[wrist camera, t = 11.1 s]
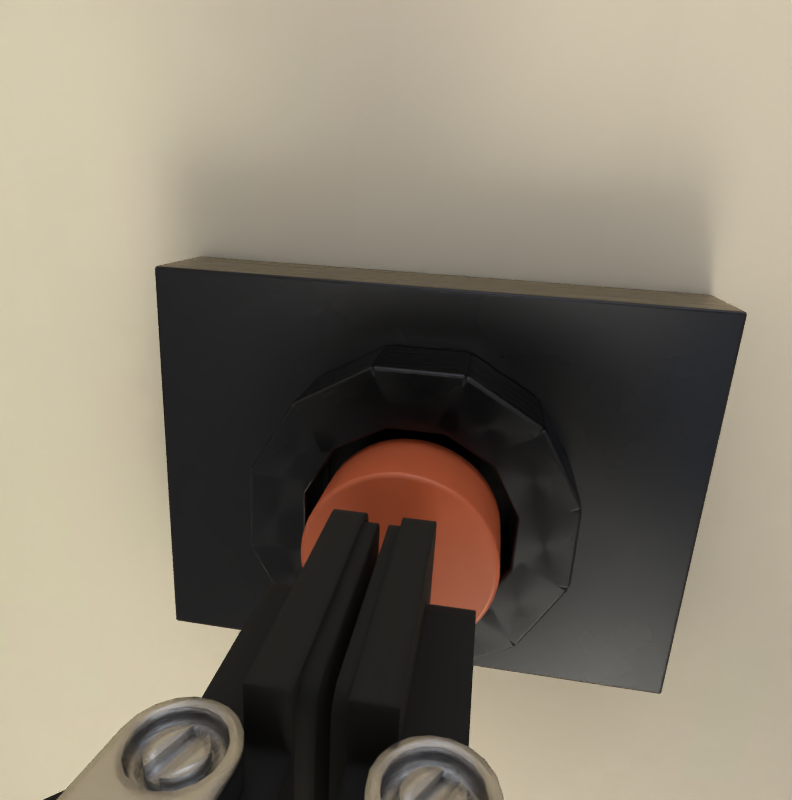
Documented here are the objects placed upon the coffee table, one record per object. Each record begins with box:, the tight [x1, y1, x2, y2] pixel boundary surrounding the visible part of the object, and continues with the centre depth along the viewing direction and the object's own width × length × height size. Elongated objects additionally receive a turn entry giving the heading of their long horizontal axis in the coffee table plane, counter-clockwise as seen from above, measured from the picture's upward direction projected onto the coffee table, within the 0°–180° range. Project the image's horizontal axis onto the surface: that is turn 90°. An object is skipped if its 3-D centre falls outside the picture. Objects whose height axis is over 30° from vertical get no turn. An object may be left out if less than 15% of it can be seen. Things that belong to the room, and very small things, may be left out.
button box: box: [155, 257, 747, 694], centre depth 15 cm, size 12×9×4 cm
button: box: [301, 438, 500, 624], centre depth 12 cm, size 4×4×2 cm
